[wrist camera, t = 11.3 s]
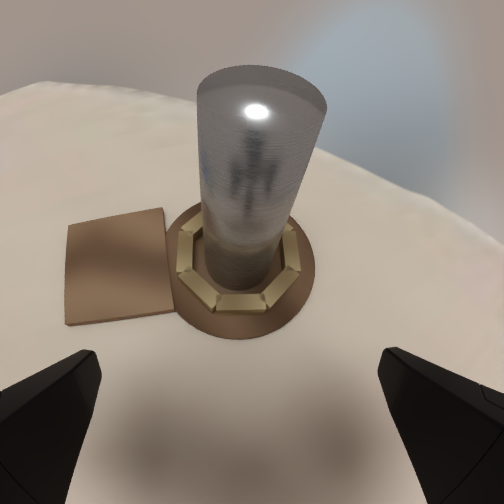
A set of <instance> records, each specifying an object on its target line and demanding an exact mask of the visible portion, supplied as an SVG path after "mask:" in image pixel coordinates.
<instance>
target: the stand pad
mask: <svg viewBox="0 0 504 504" xmlns="http://www.w3.org/2000/svg"><path fill="white" fill-rule="evenodd" d="M165 235H166V234H165V224H164V212H163V208H162V207H161V208H155V209H150V210H144V211H138V212H133V213H127V214H122V215H116V216H111V217H106V218H101V219H96V220H91V221H86V222H82V223H77V224H72V225H68V235H67V246H66V262H65V293H64V305H65V324H66V325H67V326H75V325H83V324H92V323H100V322H107V321H115V320H122V319H129V318H136V317H143V316H150V315H157V314H163V313H169V312H175V309H174V304H173V297H172V290H171V282H170V275H169V267H168V258H167V250H166V240H165Z"/></svg>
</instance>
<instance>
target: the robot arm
mask: <svg viewBox="0 0 504 504" xmlns="http://www.w3.org/2000/svg"><path fill="white" fill-rule="evenodd" d="M378 377H379V380H380V383H381V386H382V389H383V392H384V395H385V398H386V402H387V405H388V408H389V411H390V413H391V416H392V418H393V420H394V423H395V425H396V427H397V429H398V432H399V434H400V436H401V439H402V441H403V443H404V446H405V448H406V450H407V453H408V455H409V458H410V460H411V462H412V465H413V467H414V470H415V472H416V475H417V477H418V480H419V482H420V485H421V488H422V490H423V493H424V495H425V498H426V501H427V504H504V393H501V392H498V391H496V390H493V389H491V388H488V387H486V386H484V385H481V384H480V385H479V383H477V382H474V381H472V380H470V379H467V378H465V377H463V376H460V375H458V374H456V373H453V372H451V371H449V370H447V369H444V368H442V367H440V366H438V365H435V364H433V363H431V362H429V361H426V360H424V359H422V358H420V357H418V356H415V355H413V354H411V353H409V352H407V351H404V350H402V349H400V348H398V347H390V348H385V349H384V350H383V352H382V356H381V359H380V363H379V366H378ZM101 378H102V373H101V369H100V366H99V362H98V359H97V355H96V353H95V352H94V351H92V350H81V351H79V352H77V353H75V354H73V355H71V356H69V357H67V358H65V359H63V360H61V361H59V362H57V363H55V364H53V365H51V366H49V367H47V368H45V369H43V370H41V371H39V372H38V373H36V374H34V375H32V376H30V377H28V378H26V379H24V380H22V381H20V382H18V383H16V384H14V385H12V386H10V387H8V388H6V389H4V390H2V391H0V504H65V501H66V497H67V494H68V490H69V486H70V483H71V479H72V476H73V473H74V469H75V466H76V463H77V459H78V456H79V453H80V450H81V447H82V444H83V441H84V438H85V435H86V432H87V429H88V426H89V424H90V421H91V418H92V414H93V410H94V406H95V402H96V398H97V394H98V390H99V386H100V382H101Z"/></svg>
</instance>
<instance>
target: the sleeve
mask: <svg viewBox="0 0 504 504" xmlns="http://www.w3.org/2000/svg"><path fill="white" fill-rule="evenodd" d="M326 111H327V104H326V101H325V99H324V97H323V95H322V94H321V92H320V91H319V90H318V89H317V88H316V87H315V86H314V85H312V84H311V83H310V82H308V81H307V80H305V79H304V78H302V77H300V76H298V75H295V74H293V73H290V72H288V71H285V70H281V69H278V68H273V67H268V66H259V65H242V66H234V67H228V68H224V69H221V70H219V71H216V72H215V73H212V74H210V75H209V76H207V77H206V78H205V79H204V80H203V81H202V82H201V83H200V85H199V87H198V90H197V124H198V153H199V175H200V193H201V210H202V225H203V238H204V251H205V263H206V269H207V271H208V273H209V275H210V277H211V278H212V279H213V280H214V282H216V283H217V284H218V285H220V286H221V287H223V288H225V289H229V290H233V291H244V290H248V289H251V288H253V287H255V286H257V285H258V284H259V283H261V282H262V281H263V279H264V278H265V276H266V275H267V273H268V270H269V267H270V265H271V262H272V260H273V257H274V254H275V252H276V249H277V247H278V244H279V241H280V239H281V236H282V233H283V231H284V228H285V225H286V223H287V220H288V217H289V215H290V212H291V209H292V207H293V204H294V201H295V198H296V196H297V193H298V190H299V188H300V185H301V182H302V179H303V177H304V174H305V171H306V168H307V166H308V163H309V160H310V157H311V154H312V152H313V149H314V146H315V143H316V140H317V138H318V135H319V132H320V129H321V126H322V123H323V120H324V118H325V115H326Z"/></svg>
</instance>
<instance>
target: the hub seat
mask: <svg viewBox="0 0 504 504" xmlns="http://www.w3.org/2000/svg"><path fill="white" fill-rule="evenodd" d="M165 240H166V250H167V258H168V267H169V275H170V282H171V290H172V297H173V304H174V309H175V311H176V312H177V313H178V314H179V315H180V316H181V317H182V318H183V319H184V320H185V321H187V322H188V323H189V324H191V325H192V326H194V327H195V328H197V329H199V330H201V331H203V332H205V333H207V334H210V335H213V336H216V337H221V338H226V339H250V338H255V337H260V336H263V335H266V334H269V333H271V332H273V331H275V330H277V329H279V328H281V327H282V326H284V325H285V324H286V323H287V322H289V321H290V320H291V319H292V318H293V317H294V316H295V315H296V314H297V313H298V312H299V311H300V309H301V308H302V307H303V305H304V304H305V302H306V300H307V298H308V297H309V295H310V292H311V289H312V286H313V282H314V277H315V261H314V255H313V251H312V248H311V245H310V242H309V240H308V238H307V236H306V234H305V233H304V231H303V230H302V228H301V227H300V225H299V224H298V223H297V222H296V221H295V220H294V219H293V218H292V217H291V216H290V215H289V217H288V220H287V223H286V225H285V228H284V231H283V233H282V236H281V239H280V241H279V244H278V247H277V249H276V252H275V254H274V257H273V260H272V262H271V265H270V267H269V270H268V273H267V275H266V276H265V278H264V279H263V281H262V282H261V283H259V284H258V285H257V286H255V287H253V288H251V289H248V290H244V291H233V290H229V289H225V288H223V287H221V286H220V285H218V284H217V283H216V282H214V280H213V279H212V278H211V277H210V275H209V273H208V271H207V269H206V263H205V251H204V238H203V225H202V210H201V202H200V203H198V204H196V205H194V206H192V207H191V208H189V209H188V210H186V211H185V212H184V213H182V214H181V215H180V216H179V217H178V218H177V219H176V220H175V221H174V223H173V224H172V225H171V226H170V228H169V229H168V231H167V232H166V235H165Z"/></svg>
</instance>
